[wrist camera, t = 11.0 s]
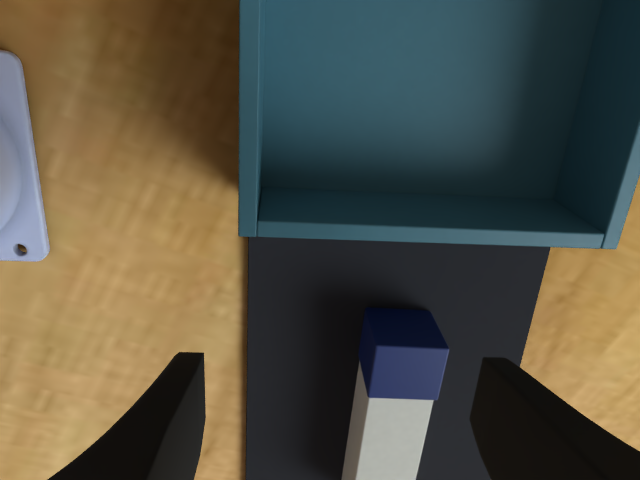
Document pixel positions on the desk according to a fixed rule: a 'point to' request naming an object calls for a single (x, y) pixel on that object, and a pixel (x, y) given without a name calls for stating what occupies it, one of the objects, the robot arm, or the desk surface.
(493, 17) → the storage box
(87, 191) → the desk surface
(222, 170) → the desk surface
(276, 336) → the mat
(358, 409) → the marker
